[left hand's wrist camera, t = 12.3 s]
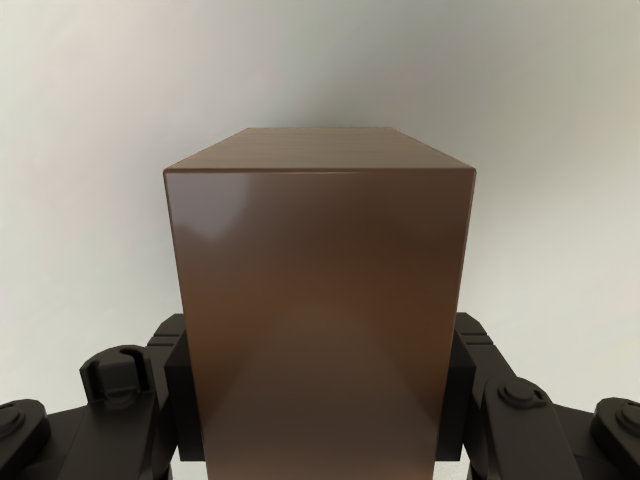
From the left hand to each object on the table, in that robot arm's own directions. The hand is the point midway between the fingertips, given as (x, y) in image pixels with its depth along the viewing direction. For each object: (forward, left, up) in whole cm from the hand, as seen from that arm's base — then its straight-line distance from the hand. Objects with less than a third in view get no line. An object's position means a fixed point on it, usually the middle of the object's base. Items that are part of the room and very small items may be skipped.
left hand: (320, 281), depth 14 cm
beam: (+29, +13, -1) cm, 32 cm away
